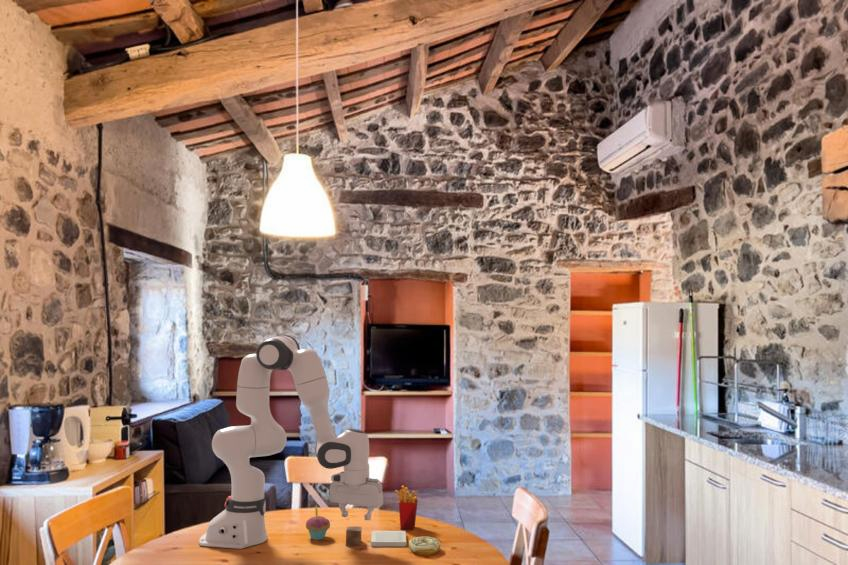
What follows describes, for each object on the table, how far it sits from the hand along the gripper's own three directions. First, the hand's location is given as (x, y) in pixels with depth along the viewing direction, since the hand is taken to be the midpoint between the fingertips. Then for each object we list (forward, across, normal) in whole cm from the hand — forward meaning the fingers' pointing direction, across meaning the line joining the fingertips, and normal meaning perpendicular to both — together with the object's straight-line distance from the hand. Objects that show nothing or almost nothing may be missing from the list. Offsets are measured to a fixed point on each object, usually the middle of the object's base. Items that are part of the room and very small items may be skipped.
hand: (356, 518), depth 224 cm
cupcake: (+8, +16, +1) cm, 18 cm away
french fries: (+9, -5, -24) cm, 26 cm away
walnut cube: (+9, +1, -1) cm, 9 cm away
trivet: (+9, -7, -9) cm, 15 cm away
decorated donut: (+10, -23, -7) cm, 26 cm away
